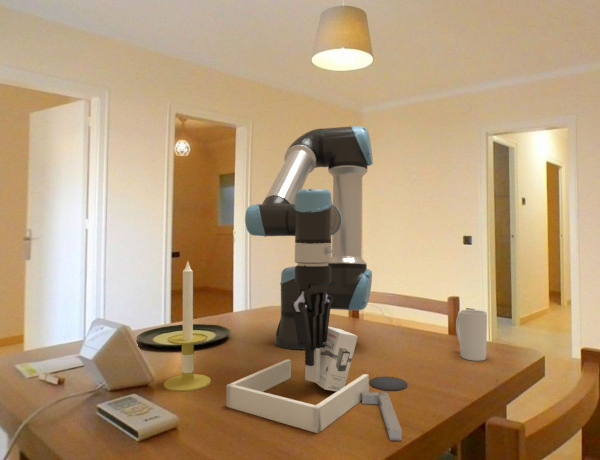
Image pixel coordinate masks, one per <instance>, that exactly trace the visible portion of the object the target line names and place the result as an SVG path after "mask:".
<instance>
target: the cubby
mask: <svg viewBox="0 0 600 460" xmlns="http://www.w3.org/2000/svg"><path fill="white" fill-rule="evenodd" d="M291 377H292V360H291V359H287V358H286V359H284V360H282V361H280V362H278V363H274V364H273V365H270V366H268V367H266V368H264V369H261V370H258V371H257V372H254V373H251V374H250V375H247V376H245V377H243V378H240V379H238V380H236V381H233V382H231V383H229V384H226V387H225V388H226V390H225V391H226V392H225V393H226V396H225V397H226V400H225V402H226V405H225V406H226V407H227V408H230V409H233V410H237V411H240V412H244V413H246V414H251V415H254V416H258V417H261V418H265V419H267V420H271V421H274V422H277V423H281V424H285V425H288V426H291V427H295V428H297V429H298V428H299V429H301V430H306V431H309V432H312V433H315V434H319V433H321V431H323V430H325V429H326V428H327V427H328V426H329V425H331V424H333V422H335V421H336V420H338V419H339V418H340V417H341V416H343V415H345V414H346V413H347V412H348V411H350V410H351V409H352V408H353V407H355V406H356V405H357V404H359V403H360V402H362V392H370V391H369V390H370V380H369V379H370V378H369V377H370V375H369V374H367V373H366V374H365V373H363V374H362V375H360V376H359V377H357V378H356V379H354V380H352V381H351V382H349V383H348V384H347V385H346V384H345V387H343V388H342V389H340V390H339V391H337V392H336V391H335V392H334V393H332V394H331V395H330V396H328V397H327V398H326V397H325V399H323V400H322V401H320V402H319V403H317V404H312V403H308V402H303V401H301V400H295V399H293V398H288V397H284V396H280V395H276V394H272V393H270V392H265V391H267V390H269V389H271V388H273V387H275V386H278V385H279V384H282V383H283V382H285V381H287V380H289V379H291Z"/></svg>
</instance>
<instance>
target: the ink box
mask: <svg viewBox="0 0 600 460" xmlns="http://www.w3.org/2000/svg"><path fill="white" fill-rule="evenodd" d="M357 341H358V336H357V335H356V334H353V333H351V332H348V331H346V330H343V329H341V328H337V327H333V326H329V325H328V333H327V341H326V342H323V344H326V346H325V348H321V347H320V381H318V382H314V383H315V384H317V386H319V387H320V388H321V389H324V390H327V391H331V392H335V393H336V392H337V391H339V390H340V389H342V388H343V387H345V386H346V382H347V379H348V376H349V373H350V368H351V364H352V360H353V357H354V352H355V349H356V344H357Z"/></svg>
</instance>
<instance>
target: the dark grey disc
mask: <svg viewBox="0 0 600 460" xmlns="http://www.w3.org/2000/svg"><path fill="white" fill-rule="evenodd" d="M369 386H371V387H372V388H375V389H377V390H381V391H388V392H389V391H392V392H395V391H397V392H398V391H403V390H405V389H407V388H408V382H407V381H406V380H404V379H402V378H399V377H394V376H376V377H373V378H371V379H370V380H369Z"/></svg>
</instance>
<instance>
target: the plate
mask: <svg viewBox="0 0 600 460" xmlns="http://www.w3.org/2000/svg"><path fill="white" fill-rule="evenodd" d="M193 333H198V334H204V335H206V336H208V338H207V340H205V341H203V342H200V343H195V344H194V347H200V346H205V345H210V344H213V343H217V342H219V341H222V340H224V339H225V338H227V337H229V336H230V335H231V333H232V332H231V329H230V328H228V327H226V326H222V325H218V324H207V323H205V324H204V323H203V324H200V323H198V324H197V323H195V324H194V323H193ZM179 334H183V324H176V325H168V326H161V327H157V328H153V329H148V330H145V331H143V332H141V333H140V334H139V333H138V335H137V336H136V341H138V342H139V343H141V344H143V345H146V346H149V347H155V348H167V349H169V348H170V349H172V348H173V349H177V348H180V349H182V344H181V345H180V344H172V343H169V342H168V340H167V339H168V338H169V337H171V336H174V335H179Z"/></svg>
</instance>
